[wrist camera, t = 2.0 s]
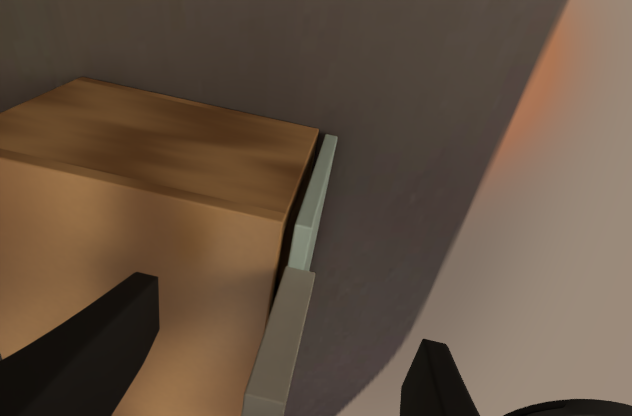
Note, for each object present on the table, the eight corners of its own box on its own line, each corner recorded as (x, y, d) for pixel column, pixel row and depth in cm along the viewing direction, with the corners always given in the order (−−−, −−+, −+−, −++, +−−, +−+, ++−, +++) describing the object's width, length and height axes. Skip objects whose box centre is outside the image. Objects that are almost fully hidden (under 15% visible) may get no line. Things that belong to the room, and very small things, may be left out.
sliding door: (346, 137, 18) (296, 357, 8) (313, 286, 22) (255, 540, 13) (324, 133, 18) (250, 346, 8) (295, 282, 22) (224, 532, 13)
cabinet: (319, 128, 18) (283, 222, 12) (272, 377, 26) (238, 504, 20) (81, 75, 18) (-68, 142, 12) (111, 338, 27) (31, 452, 21)
